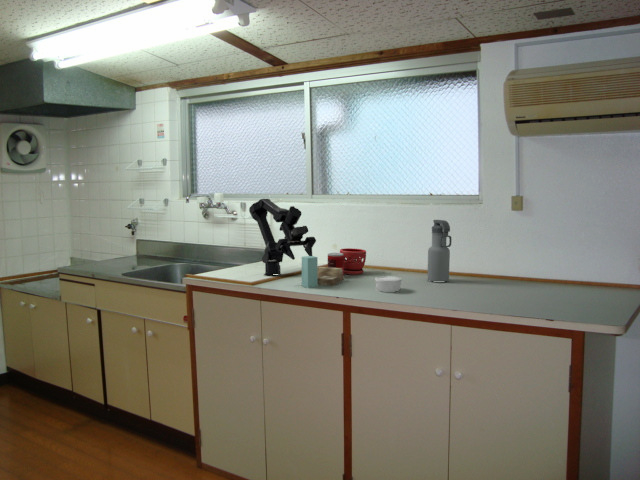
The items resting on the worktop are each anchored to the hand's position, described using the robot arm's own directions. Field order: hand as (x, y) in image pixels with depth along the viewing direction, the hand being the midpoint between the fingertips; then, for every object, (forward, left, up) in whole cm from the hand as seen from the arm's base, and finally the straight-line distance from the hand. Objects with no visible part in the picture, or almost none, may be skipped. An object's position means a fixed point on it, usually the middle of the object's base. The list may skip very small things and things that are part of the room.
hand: (303, 258), depth 237 cm
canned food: (+6, +24, -12) cm, 28 cm away
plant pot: (+11, +35, -12) cm, 39 cm away
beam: (+6, +15, -9) cm, 18 cm away
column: (+4, -3, -12) cm, 13 cm away
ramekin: (+38, +2, -12) cm, 40 cm away
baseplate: (+6, +10, -12) cm, 16 cm away
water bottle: (+54, +31, -12) cm, 64 cm away
